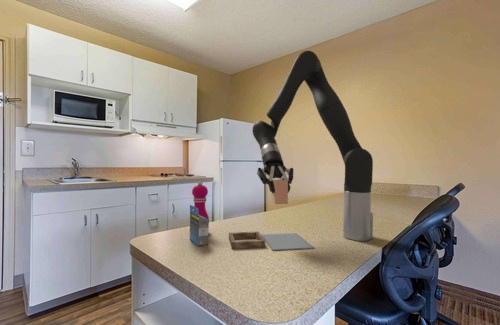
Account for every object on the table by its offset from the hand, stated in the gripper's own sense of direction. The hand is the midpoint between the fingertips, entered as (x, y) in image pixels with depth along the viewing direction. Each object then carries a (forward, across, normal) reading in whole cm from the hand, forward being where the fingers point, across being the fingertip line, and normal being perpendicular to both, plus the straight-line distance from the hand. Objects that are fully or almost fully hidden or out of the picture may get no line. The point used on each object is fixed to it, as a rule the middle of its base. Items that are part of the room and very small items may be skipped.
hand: (280, 191), depth 84 cm
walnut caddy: (+11, -12, +14) cm, 21 cm away
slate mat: (+12, +2, +14) cm, 18 cm away
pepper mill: (+1, -28, +24) cm, 37 cm away
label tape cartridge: (+9, -28, +17) cm, 33 cm away
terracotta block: (+2, 0, +4) cm, 4 cm away
